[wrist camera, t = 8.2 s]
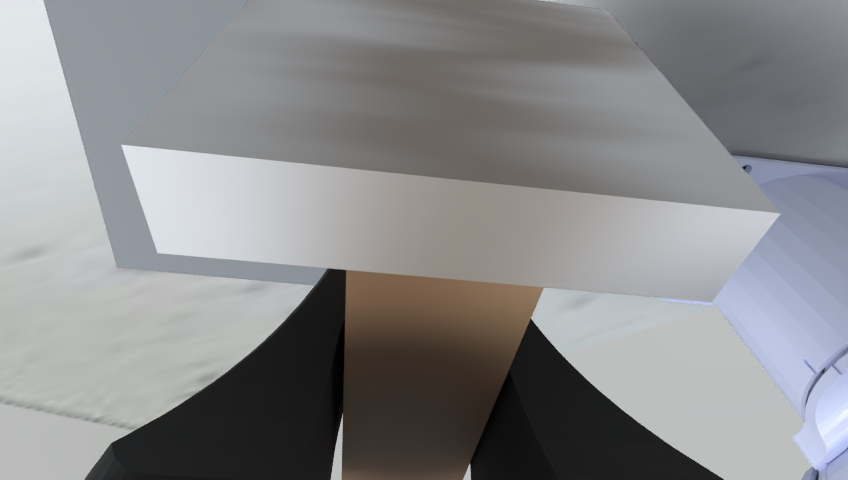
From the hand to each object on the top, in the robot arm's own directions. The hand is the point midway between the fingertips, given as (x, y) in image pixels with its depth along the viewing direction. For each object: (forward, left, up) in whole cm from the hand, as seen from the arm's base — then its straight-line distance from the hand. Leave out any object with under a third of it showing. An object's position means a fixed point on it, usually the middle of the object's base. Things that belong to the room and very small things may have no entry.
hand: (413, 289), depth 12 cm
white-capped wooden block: (0, -1, -3) cm, 3 cm away
